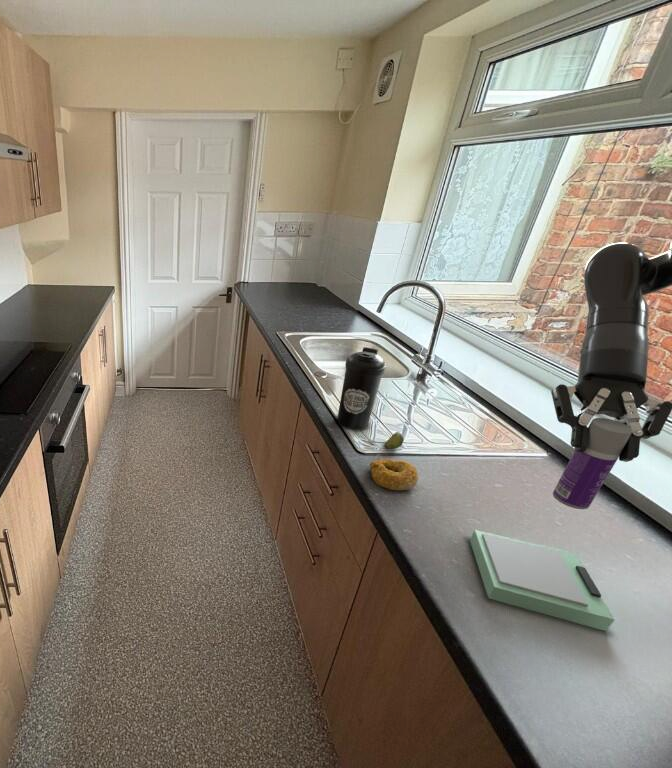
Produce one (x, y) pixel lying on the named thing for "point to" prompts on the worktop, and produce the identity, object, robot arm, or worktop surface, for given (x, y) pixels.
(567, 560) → the scale
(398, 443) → the lime
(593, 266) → the robot arm
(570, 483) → the container
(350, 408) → the water bottle
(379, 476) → the bagel
